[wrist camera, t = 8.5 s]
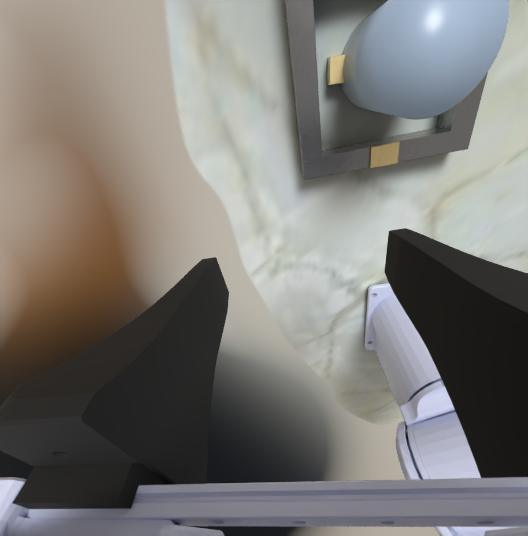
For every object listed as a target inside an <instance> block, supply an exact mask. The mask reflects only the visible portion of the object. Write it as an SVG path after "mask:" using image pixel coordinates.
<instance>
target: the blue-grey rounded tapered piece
mask: <svg viewBox="0 0 528 536" xmlns="http://www.w3.org/2000/svg"><path fill="white" fill-rule="evenodd" d="M508 16H509V0H388V1H387V2H386V3H384V4H383V5H382V6H380V7H379V8H378V9H376V10H375V11H374V12H373V13H371V14H370V15H369V16H367V17H366V18H365V19H364V20H363V21H362V22H361V23H360V24H359V25H358V26H357V27H356V28H355V30H354V31H353V33H352V34H351V36H350V37H349V39H348V41H347V43H346V46H345V48H344V51H343V54H342V55H339V56H333V57H329V58H328V70H327V85H332V84H338V83H341V85H342V88H343V91H344V93H345V95H346V97H347V98H348V99H349V101H350V102H352V103H353V104H354V105H355V106H357V107H359V108H362V109H366V110H371V111H375V112H380V113H384V114H389V115H393V116H398V117H403V118H407V119H426V118H430V117H434V116H436V115H439V114H441V113H443V112H445V111H447V110H449V109H451V108H452V107H454V106H455V105H457V104H458V103H459V102H461V101H462V100H463V99H464V98H465V97H466V96H468V95H469V94H470V93H471V92H472V91H473V90H474V88H475V87H476V86H477V85H478V84H479V83H480V81H481V80H482V79H483V78H484V76H485V75H486V73H487V72H488V70H489V69H490V67H491V65H492V64H493V62H494V60H495V58H496V56H497V54H498V52H499V50H500V47H501V44H502V42H503V39H504V36H505V32H506V28H507V23H508Z"/></svg>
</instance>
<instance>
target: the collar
mask: <svg viewBox="0 0 528 536" xmlns="http://www.w3.org/2000/svg"><path fill="white" fill-rule="evenodd" d="M285 10H286V20H287V29H288V39H289V49H290V58H291V68H292V78H293V87H294V97H295V107H296V116H297V126H298V136H299V145H300V155H301V165H302V174H303V177H304V179H305V180H306V179H311V178H316V177H321V176H327V175H332V174H337V173H343V172H348V171H353V170H359V169H364V168H369V167H370V168H375V167H380V166H385V165H391V164H396V163H397V162H401V161H406V160H412V159H417V158H422V157H428V156H433V155H438V154H443V153H449V152H454V151H459V150H465V149H468V146H469V142H470V139H471V135H472V131H473V127H474V123H475V119H476V115H477V111H478V108H479V104H480V100H481V96H482V92H483V88H484V84H485V80H486V76H487V73H488V72H487V73H486V75H485V76H484V78H483V79H482V80H481V81H480V83H479V84H478V85H477V86H476V87H475V88H474V90H473V91H472V92H471V93H470V94H469V95H468V96H466V97H465V98H464V99H463V100H462V101H461V102H459V103H458V104H457V105H455V106H454V107H452V108H451V109H449V110H447V111H445V112H443V113H441V114H440V115H439V120H438V126H437V128H433V129H428V130H424V131H419V132H414V133H409V134H404V135H399V136H394V137H389V138H384V139H379V140H374V141H369V142H364V143H359V144H354V145H349V146H344V147H339V148H335V149H330V150H325V151H322V148H321V130H320V112H319V95H318V77H317V60H316V42H315V24H314V7H313V0H285Z"/></svg>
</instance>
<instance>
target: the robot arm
mask: <svg viewBox="0 0 528 536" xmlns="http://www.w3.org/2000/svg"><path fill="white" fill-rule="evenodd" d="M385 274H386V276H387V279H388V281H389V283H386V284H378V285H372V286H370V287H369V288H368V298H367V315H366V331H365V349H366V350H369V351H370V350H375V351H376V353H377V356H378V358H379V361H380V363H381V366H382V369H383V371H384V374H385V376H386V379H387V381H388V384H389V386H390V389H391V391H392V394H393V397H394V399H395V401H396V402H397V404H398V405H399V407H400V410H401V413H402V415H403V418H404V420H405V421H404V422H401V423H400V424H399V425H398V427H397V436H396V449H397V454H398V458H399V461H400V465H401V468H402V471H403V473H404V476H405V478H406V480H367V481H366V480H365V481H318V482H273V483H272V482H271V483H226V484H225V483H224V484H206V473H207V452H208V435H209V421H210V409H211V398H212V389H213V380H214V372H215V365H216V359H217V354H218V350H219V346H220V342H221V337H222V333H223V329H224V324H225V320H226V315H227V309H228V297H229V292H228V289H227V286H226V284H225V281H224V278H223V275H222V272H221V270H220V267H219V264H218V262H217V259H216V258H208V259H203V260H201V261H200V262H199V263H198V264H197V265H196V266H194V267H193V268H192V269H191V270H190V271H189V272H188V273H187V274H186V275H185V276H184V277H183V278H182V279H181V280H180V281H179V282H178V283H177V284H176V285H175V286H174V287H173V288H172V289H171V290H169V291H168V292H167V293H166V294H165V295H164V296H163V297H162V298H160V300H158V301H157V302H156V303H155V304H154V305H152V306H151V307H150V308H149V309H147V310H146V311H145V312H144V313H142V314H141V315H140V316H138V317H137V318H136V319H134V320H133V321H132V322H130V323H129V324H127V325H126V326H124V327H123V328H121V329H120V330H118V331H117V332H115V333H113V334H112V335H111V336H109V337H107V338H106V339H104V340H103V341H101V342H99V343H98V344H96V345H94V346H93V347H91V348H89V349H88V350H86V351H84V352H83V353H80V354H79V355H77V356H75V357H73V358H71V359H70V360H68V361H66V362H64V363H62V364H60V365H58V366H56V367H54V368H52V369H50V370H48V371H46V372H44V373H42V374H40V375H38V376H36V377H34V378H32V379H30V380H27V381H25V382H23V383H21V384H20V385H19V386H18V387H17V388H16V389H15V391H14V392H13V393H12V394H11V395H10V396H9V398H8V399H7V400H6V401H5V402H4V403H3V405H2V406H1V407H0V451H2V452H4V453H7V454H9V455H11V456H13V457H15V458H17V459H20V460H21V461H24V462H26V463H28V464H30V465H32V466H34V467H35V468H34V469H33V471H32V472H31V474H30V476H29V477H28V479H27V480H26V479H21V478H13V477H8V478H0V536H224V534H223V532H222V531H219V530H211V529H202V528H194V527H186V526H392V527H395V526H396V527H398V526H399V527H400V526H402V527H405V526H406V527H412V526H413V527H415V526H416V527H417V526H419V527H428V526H429V527H435V529H436V530H437V532H438V534H439V535H440V536H528V273H524V272H521V271H518V270H514V269H511V268H507V267H504V266H501V265H498V264H495V263H492V262H489V261H486V260H484V259H481V258H478V257H475V256H473V255H470V254H467V253H465V252H462V251H460V250H457V249H455V248H452V247H450V246H448V245H445V244H443V243H440V242H438V241H436V240H433V239H431V238H429V237H426V236H424V235H422V234H419V233H417V232H414V231H412V230H409V229H406V228H405V229H398V230H392V231H389V236H388V245H387V255H386V264H385ZM374 293H376V294H374ZM372 294H374V295H372Z"/></svg>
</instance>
